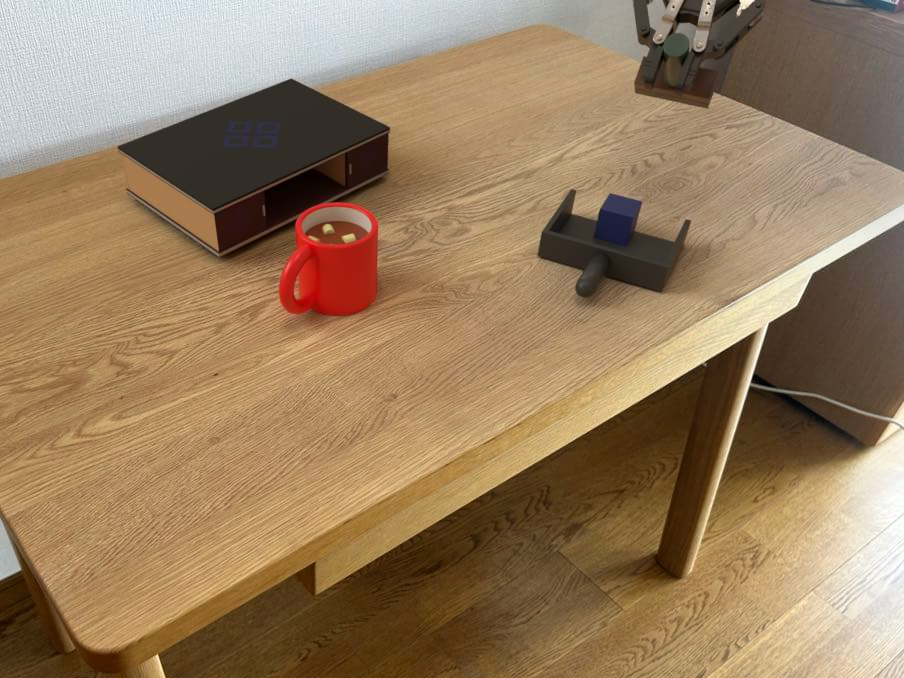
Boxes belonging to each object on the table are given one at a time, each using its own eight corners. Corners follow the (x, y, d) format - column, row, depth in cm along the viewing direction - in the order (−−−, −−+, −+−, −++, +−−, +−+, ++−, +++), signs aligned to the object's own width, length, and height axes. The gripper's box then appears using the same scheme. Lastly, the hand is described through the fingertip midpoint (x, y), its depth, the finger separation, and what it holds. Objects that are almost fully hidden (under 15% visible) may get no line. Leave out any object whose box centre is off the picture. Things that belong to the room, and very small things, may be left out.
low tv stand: (389, 179, 103) (391, 127, 98) (220, 264, 91) (212, 209, 86) (294, 128, 112) (291, 78, 107) (128, 199, 99) (116, 146, 95)
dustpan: (566, 214, 98) (571, 188, 96) (683, 246, 94) (691, 220, 91) (516, 287, 88) (520, 261, 86) (644, 326, 84) (652, 300, 82)
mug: (255, 316, 85) (248, 248, 79) (331, 259, 91) (329, 193, 86) (318, 348, 81) (315, 279, 76) (392, 286, 88) (394, 219, 83)
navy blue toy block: (609, 192, 94) (599, 208, 92) (642, 201, 93) (633, 217, 91) (603, 221, 97) (593, 237, 94) (634, 230, 95) (625, 246, 93)
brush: (717, 81, 94) (723, 37, 83) (707, 109, 94) (712, 68, 84) (644, 67, 96) (641, 22, 86) (634, 93, 97) (630, 51, 86)
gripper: (655, -113, 85) (593, 59, 86) (804, -92, 80) (737, 89, 81) (655, -68, 92) (598, 90, 93) (792, -47, 87) (731, 119, 88)
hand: (663, 88), depth 87 cm, fingers closed on brush, 2 cm apart
